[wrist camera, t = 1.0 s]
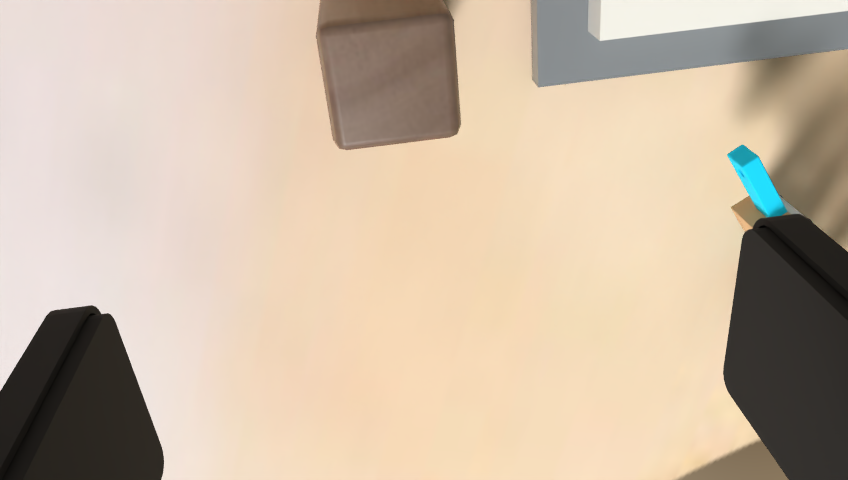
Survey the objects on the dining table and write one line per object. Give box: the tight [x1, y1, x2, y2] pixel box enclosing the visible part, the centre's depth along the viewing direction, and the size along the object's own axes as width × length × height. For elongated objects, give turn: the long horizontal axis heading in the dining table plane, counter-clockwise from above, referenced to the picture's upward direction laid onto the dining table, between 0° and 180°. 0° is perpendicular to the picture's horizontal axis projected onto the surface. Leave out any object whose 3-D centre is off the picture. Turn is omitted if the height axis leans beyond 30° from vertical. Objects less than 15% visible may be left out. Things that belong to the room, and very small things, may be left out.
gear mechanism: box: [727, 145, 813, 231], centre depth 32 cm, size 20×5×9 cm, turn 36°
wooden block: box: [316, 0, 461, 150], centre depth 25 cm, size 4×4×8 cm
